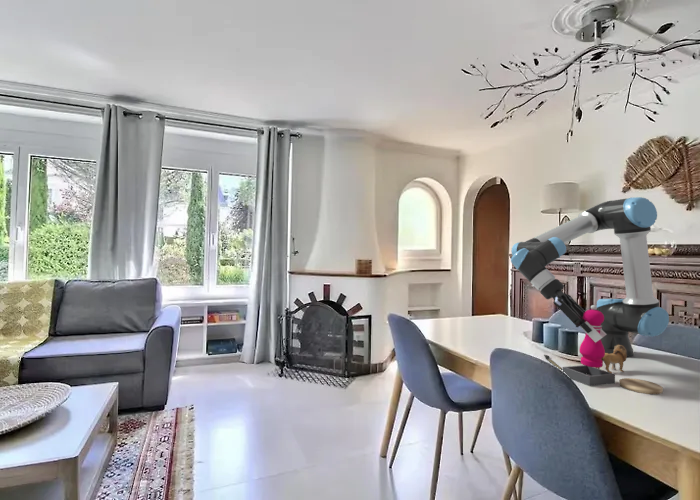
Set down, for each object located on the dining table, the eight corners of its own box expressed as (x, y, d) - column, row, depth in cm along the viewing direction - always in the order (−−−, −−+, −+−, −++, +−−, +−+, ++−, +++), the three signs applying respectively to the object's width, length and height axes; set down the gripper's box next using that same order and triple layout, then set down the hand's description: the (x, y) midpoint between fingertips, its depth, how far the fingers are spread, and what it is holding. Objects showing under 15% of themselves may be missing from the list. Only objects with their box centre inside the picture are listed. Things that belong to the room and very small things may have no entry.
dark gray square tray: (586, 373, 138) (586, 364, 138) (614, 383, 128) (615, 374, 128) (562, 375, 135) (562, 366, 135) (589, 386, 124) (589, 376, 124)
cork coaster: (636, 380, 131) (636, 377, 131) (671, 392, 120) (671, 388, 120) (611, 383, 127) (611, 379, 127) (645, 395, 117) (645, 391, 117)
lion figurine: (615, 366, 147) (615, 342, 147) (630, 370, 142) (631, 346, 142) (590, 371, 140) (591, 346, 140) (606, 376, 135) (606, 350, 135)
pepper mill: (574, 363, 131) (577, 304, 131) (584, 359, 136) (587, 302, 135) (598, 369, 126) (601, 307, 125) (608, 365, 130) (610, 305, 129)
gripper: (547, 289, 148) (597, 340, 137) (531, 293, 135) (585, 350, 124) (563, 276, 144) (616, 327, 133) (547, 279, 131) (605, 336, 120)
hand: (601, 338), depth 128 cm, fingers closed on pepper mill, 5 cm apart
